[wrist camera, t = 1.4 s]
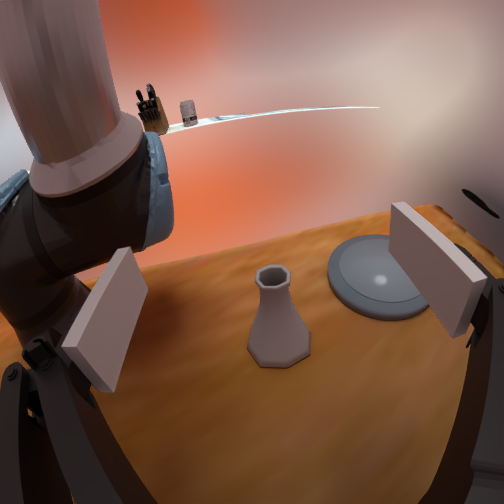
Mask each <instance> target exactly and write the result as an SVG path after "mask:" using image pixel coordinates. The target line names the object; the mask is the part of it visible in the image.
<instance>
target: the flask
mask: <svg viewBox="0 0 504 504" xmlns="http://www.w3.org/2000/svg"><path fill="white" fill-rule="evenodd" d="M290 279H291V272H290V271H289V270H288V269H287V268H286V267H285V266H284V265H267V266H265V267H263V268H261V269H258V270H257V272H256V276H255V283H256V284H257V285H258V287H259V289H260V304H259V307H258V310H257V313H256V316H255V319H254V321H253V324H252V326H251V331H250V336H249V341H248V346H247V349H248V350H249V352H250V353H251V355H252V356H253V357H254V359H255V360H256V362H257V363H258V365H259V366H260V367H283V368H288V367H289V366H291V365H293V364H295V363H296V362H298V361H300V360H301V359H303V358H305V357H306V356H308V355H310V338H311V333H310V331H309V329H308V328H307V326H306V325H305V323H304V321H303V320H302V318H301V317H300V315H299V313H298V311H297V309H296V308H295V306H294V304H293V302H292V299H291V296H290V292H289V288H288V287H289V286H290Z"/></svg>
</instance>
